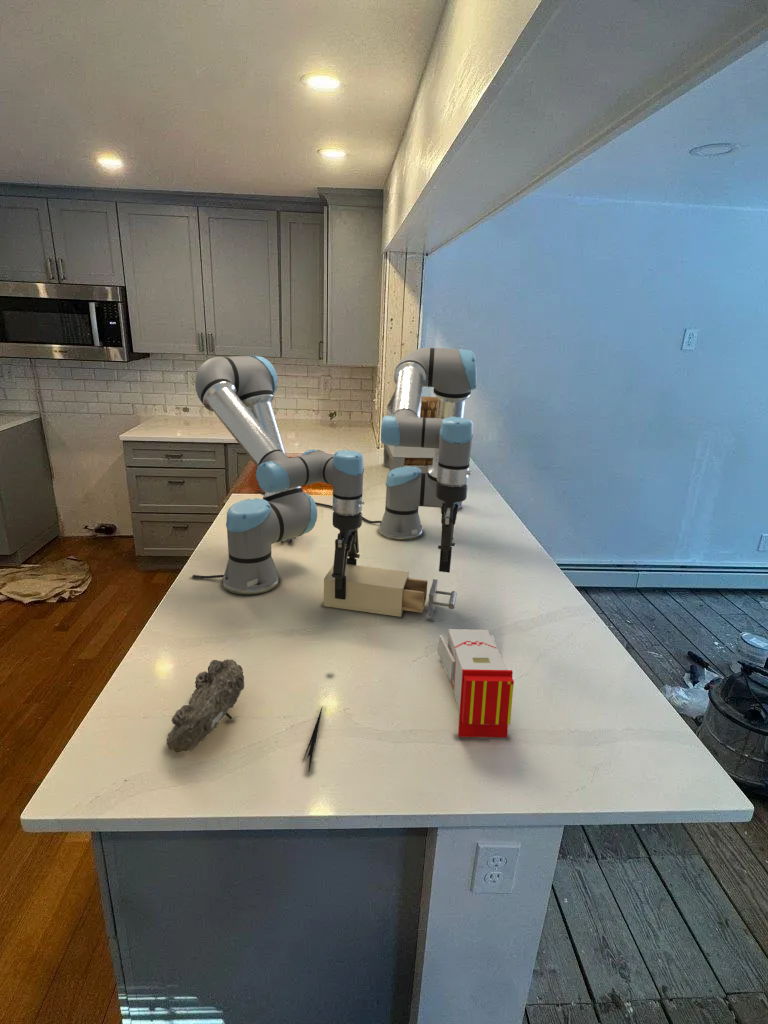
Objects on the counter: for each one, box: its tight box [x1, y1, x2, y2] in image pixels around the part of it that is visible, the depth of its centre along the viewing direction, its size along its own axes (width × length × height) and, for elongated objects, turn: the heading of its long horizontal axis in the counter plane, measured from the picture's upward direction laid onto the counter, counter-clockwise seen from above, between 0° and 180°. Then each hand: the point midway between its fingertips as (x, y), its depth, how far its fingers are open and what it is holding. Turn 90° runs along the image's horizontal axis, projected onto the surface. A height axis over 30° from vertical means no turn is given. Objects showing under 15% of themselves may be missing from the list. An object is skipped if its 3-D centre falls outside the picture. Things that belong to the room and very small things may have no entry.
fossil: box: [166, 658, 245, 754], centre depth 106 cm, size 22×10×15 cm
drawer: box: [402, 577, 458, 618], centre depth 149 cm, size 25×9×6 cm, turn 78°
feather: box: [301, 673, 332, 771], centre depth 108 cm, size 2×28×2 cm
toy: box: [437, 628, 515, 738], centre depth 117 cm, size 12×13×30 cm
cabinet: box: [323, 564, 410, 618], centre depth 151 cm, size 21×10×8 cm, turn 78°
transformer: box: [383, 391, 438, 472], centre depth 268 cm, size 34×33×41 cm
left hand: (345, 589), depth 153 cm, fingers closed on cabinet, 10 cm apart
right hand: (444, 570), depth 145 cm, fingers closed
